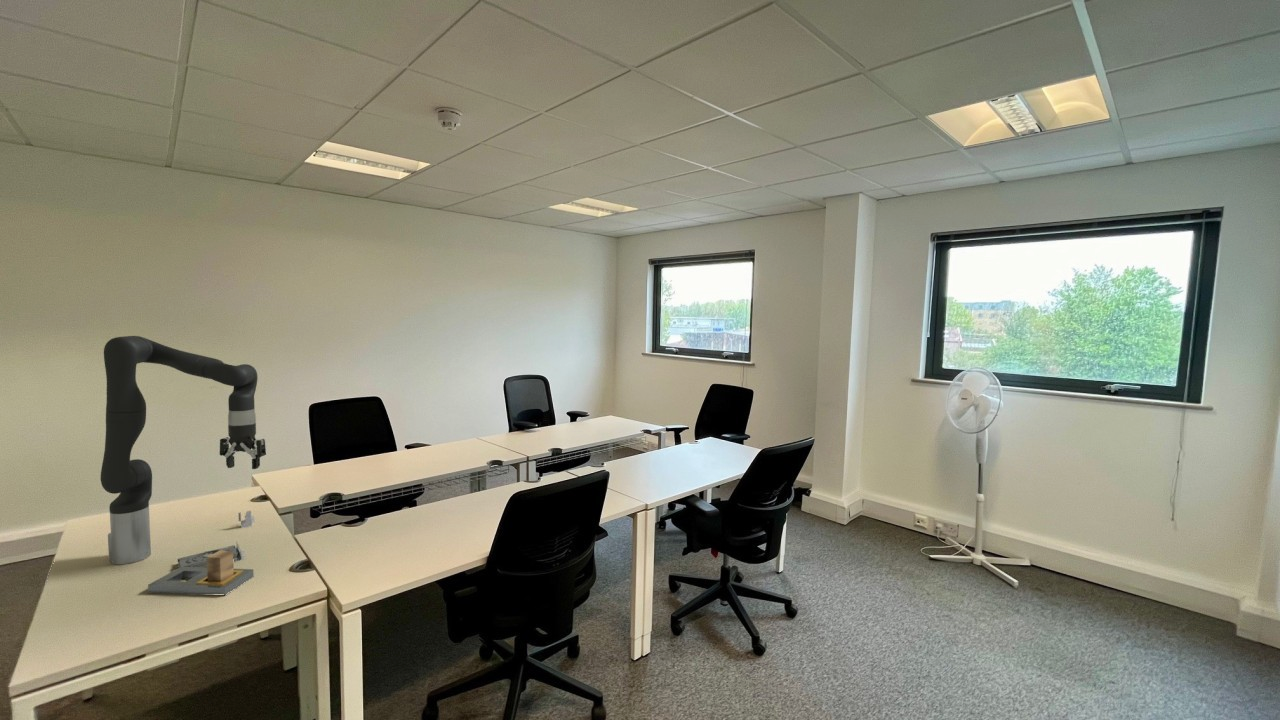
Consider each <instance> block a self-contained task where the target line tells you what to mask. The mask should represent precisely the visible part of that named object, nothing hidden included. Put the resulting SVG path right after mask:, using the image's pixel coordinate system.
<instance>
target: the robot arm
mask: <svg viewBox="0 0 1280 720" xmlns="http://www.w3.org/2000/svg"><path fill="white" fill-rule="evenodd" d="M103 361H104V369H105V376H106V377H105V378H106V402H105V403H106V405H105V441H104V452H103V456H102V457H103V458H102V465H101V469H100V470H101V471H100V483H101V486H102V488H103V490H104V491H106V492H107V493H109V494H112V495H113V494H115V495H116V494H118V496H117V497H116V498H114V500H113V501H111V502H110V504H109V507H108V508H109V522H110V532H109V533H108V534H107V542H108V543H107V545H108V549H107V550H108V561H109V563H110V562H111V563H112V564H114V565H127V564H132V563H137V562H140V561H143V560H144V559H147V558H148V557H150V556H151V555H152V547H151V541H152V540H151V522H150V521H151V520H150V501H151V498H152V494H153V493H152V492H153V470H152V468H151V466H150V464H149V463H148V462H147V461H145V460H143V459H139V458H138V459H131V454H132V450H133V447H134V445H135V444H136V442H137V440H138V438H139V437H140V435H141V433H142V432H143V430H144V427H145V425H146V422H147V421H146V420H147V403H146V400H145V397H144V395H143V394H142V392H141V389H140V388H139V386H138V383H137V378H136V374H137V373H136V372H137V364H143V363H144V364H146V363H147V364H157V365H163V366H167V367H170V368H171V369H175V370H177V371H180V372H182V373H184V374H187V375H191V376H194V377H199V378H204V379H207V380H208V379H209V380H212V381H215V382H218V383H220V384H223V385H225V386H226V385H227V386H230V387H233V389H232V393H230V394H229V395H228V404H227V405H228V414H227V432H228V436H227V437H223V438H220V439H219V455H220V456H224V457H225V465H226V467H227V469H231V468H234V467H235V456H234V455H235V454H236V453H238V452H242V453H247V455H250V457H251V458H252V459H251V469H252V470H256V469H258V468H260V465H261V458H262V457H264V456H266V455H267V451H266V450H267V449H266V447H267V446H266V439H265V438H261V439H256V435H257V420H256V419H257V416H256V411H255V407H256V406H255V394H256V391H257V384H258V379H259V377H258V373H257V370H256V368H255V367H254V366H252V365H251V364H247V363H245V364H244V363H243V364H237V365H233V364H228V363H225V362H224V361H222V360H220V359H217V358H215V357H214V358H213V357H210V356H206V355H205V356H204V355H202V354H197V353H193V352H188V351H183V350H180V349H176V348H173V347H170V346H168V345H165V344H161V343H158V342H157V341H154V340H152V339H149V338H146V337H142V336H140V335H127V336H116V337H113V338H111V339H109V340H108V341H107V342H106V343H105V345H104V347H103Z"/></svg>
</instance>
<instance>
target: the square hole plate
mask: <svg viewBox="0 0 1280 720" xmlns="http://www.w3.org/2000/svg"><path fill="white" fill-rule="evenodd" d="M254 574H255V573H254V569H250V568H234V575H232V576H231V577H229V578H228V579H226V580H225V581H223V582H208V578H207V567H180V568H179V567H178V568H176V569H174V570H172V571H171V572H169V573H167V574H166V575H163V576H162V577H160V578H158V579H156V580H154V581H153V582H150V583H149V584H147V589H148V591H147V592H148V594H167V595H169V594H170V595H172V594H173V595H190V594H224V595H226V594H227V593H228V592H230V591H232V590H233V589H235V588H236V589H238V588H239V587H241V586H242V585H244V584H245V583H247V582H248V581H249V579H250V580H251V579H252V577H253V578H254ZM186 578H190V579H187V580H186V581H182V580H184V579H186ZM246 581H247V582H246ZM244 582H245V583H244ZM243 583H244V584H243ZM241 584H242V585H241ZM240 585H241V586H240ZM238 586H239V587H238ZM237 587H238V588H237ZM236 589H235V590H236ZM233 591H234V590H233ZM233 591H232V592H233ZM230 593H231V592H230ZM227 595H228V594H227ZM227 595H226V596H227Z"/></svg>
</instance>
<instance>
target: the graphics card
mask: <svg viewBox="0 0 1280 720" xmlns="http://www.w3.org/2000/svg"><path fill="white" fill-rule="evenodd" d="M235 543H236V545H231V546H225V547H221V548H218V549H217V548H216V549H211V550H208V551H204V552H200V553H196V554H191V555H188V556H183V557H179V558H177V567H178V568H180V567H206V568H207V557H208V556H210V555H212V554H214V553H216V552H218V551H220V550H222V551H233V559H234V562H233V563H236V561H237V562H240V561H243V560H245V559H246V550H242V549H241V548H240V546H239V543H238V541H237V540H236V541H235Z"/></svg>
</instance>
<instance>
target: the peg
mask: <svg viewBox="0 0 1280 720" xmlns="http://www.w3.org/2000/svg"><path fill="white" fill-rule="evenodd" d="M206 568H207V578H208V582H223V581H225V580H226V579H228V578H229V577H231V576H232V575H234V569H235V568H234V562H233V551H222V550H220V551H218V552H216V553H214V554H212V555H210V556H208V557H207V567H206Z"/></svg>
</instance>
